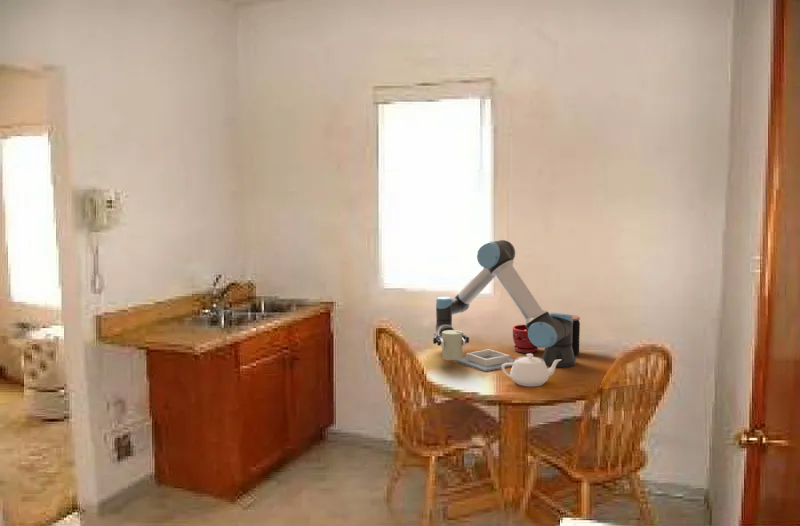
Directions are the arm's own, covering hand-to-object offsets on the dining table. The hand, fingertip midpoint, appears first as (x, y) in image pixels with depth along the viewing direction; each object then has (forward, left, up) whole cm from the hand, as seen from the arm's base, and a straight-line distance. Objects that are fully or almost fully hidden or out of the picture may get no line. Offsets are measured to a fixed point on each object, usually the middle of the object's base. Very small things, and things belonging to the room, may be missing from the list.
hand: (453, 344), depth 288 cm
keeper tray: (+1, -20, -12) cm, 24 cm away
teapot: (-33, -14, -12) cm, 38 cm away
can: (+4, -2, -7) cm, 9 cm away
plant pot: (+7, -50, -12) cm, 52 cm away
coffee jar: (-8, -63, -12) cm, 65 cm away
